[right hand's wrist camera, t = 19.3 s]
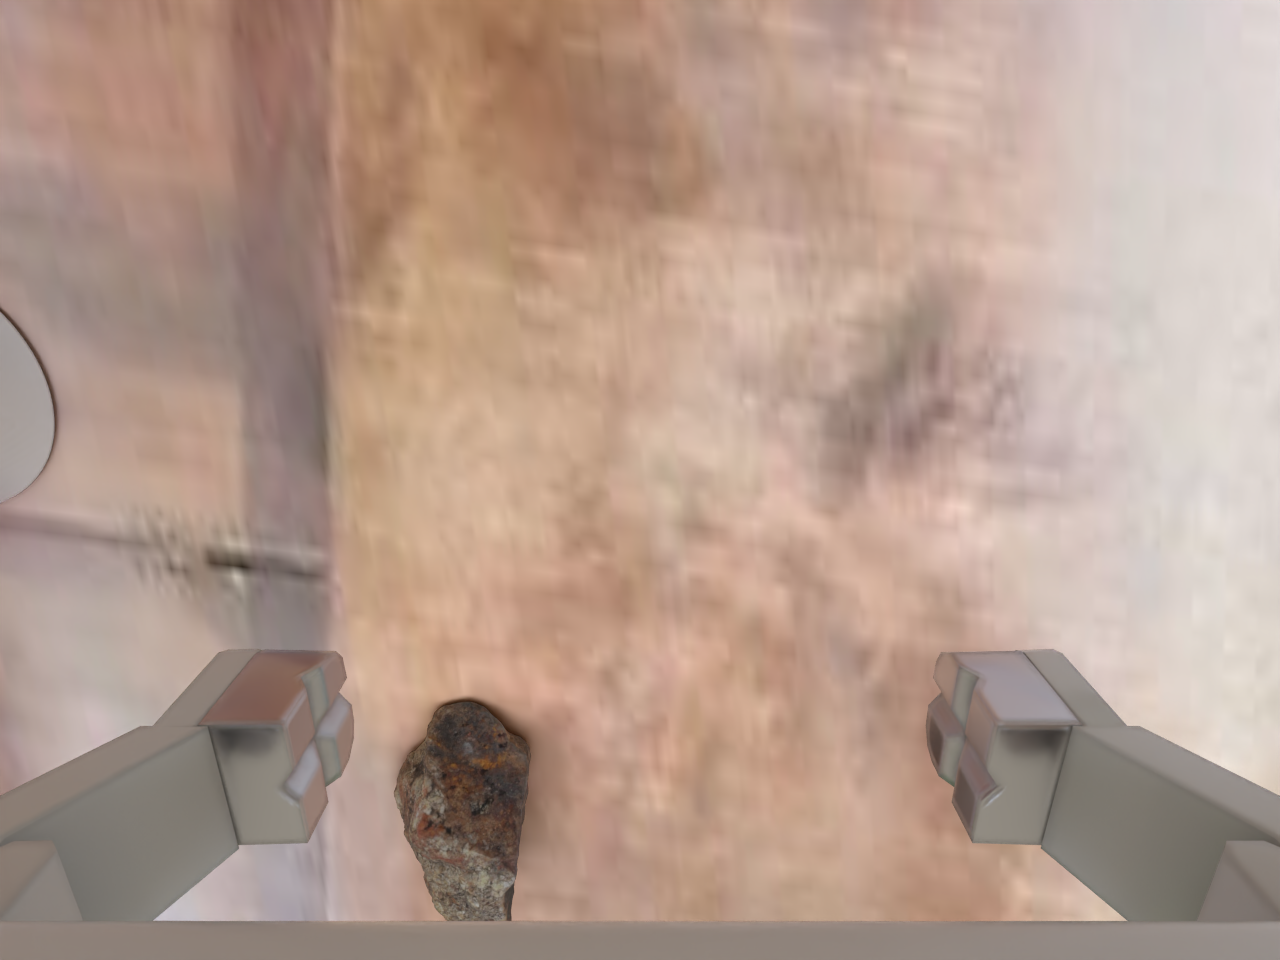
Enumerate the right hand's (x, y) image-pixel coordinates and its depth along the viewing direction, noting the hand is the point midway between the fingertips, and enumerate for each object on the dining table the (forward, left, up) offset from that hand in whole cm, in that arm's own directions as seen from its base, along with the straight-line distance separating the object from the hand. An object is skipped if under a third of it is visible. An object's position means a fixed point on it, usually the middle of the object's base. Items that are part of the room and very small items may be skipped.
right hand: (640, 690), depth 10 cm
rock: (-7, -34, -32) cm, 48 cm away
